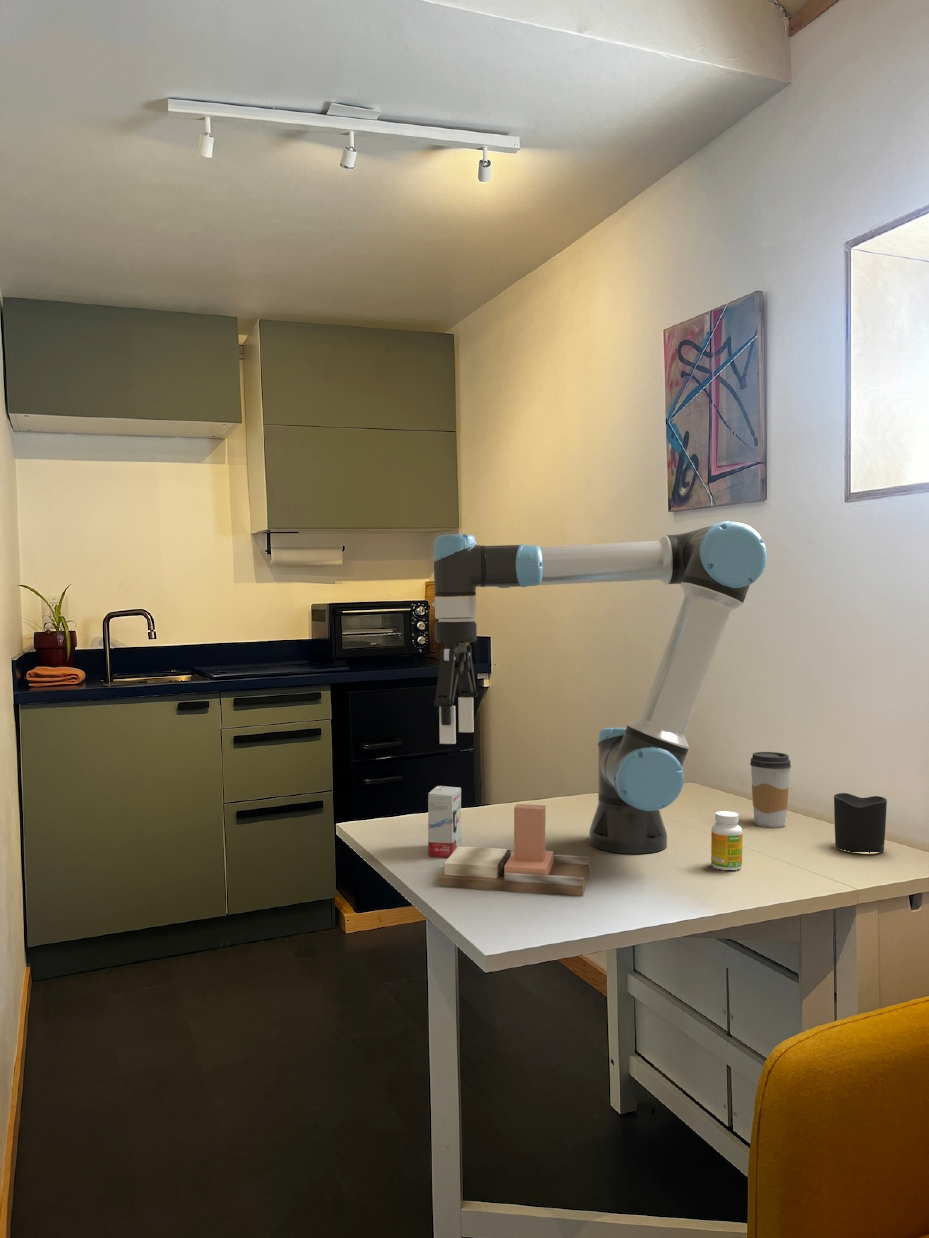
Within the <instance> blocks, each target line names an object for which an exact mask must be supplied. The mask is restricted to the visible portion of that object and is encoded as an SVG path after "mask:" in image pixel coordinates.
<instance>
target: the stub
mask: <svg viewBox="0 0 929 1238" xmlns="http://www.w3.org/2000/svg"><path fill="white" fill-rule="evenodd" d="M513 808H514V809H513V810H514V811H513V825H514V826H513V851H511V856H510V858H509V859H508V861H507V863H506V864H505V866H504V874H505V872H508V873H523V874H538V875H549V872H550V870H551V868H552V865H553V863H554V855H555V851H553V850H546V805H543V804H523V803H517V804H516V805H514V807H513Z"/></svg>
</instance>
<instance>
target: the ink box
mask: <svg viewBox="0 0 929 1238" xmlns="http://www.w3.org/2000/svg"><path fill="white" fill-rule="evenodd" d="M427 797H428V798H427V803H428V804H427V807H428V809H427V810H428V813H427V814H428V815H427V816H428V817H427V819H428V821H427V828H428V830H427V831H428V833H427V834H428V835H427V837H428V838H427V840H428V843H427V844H428V845H427V849H428V852H427V854H428V855H427V856H428V857H434V858H435V857H436V858H437V857H438V858H439V857H440V858H449V857H450V856H451V854H452V853H453V852H454V851H455V850H456V848H457V847H458V846H462V809H461V808H462V788H461V787H460V786H459V787H455V786H445V785H437V786H435V787H434V788H433V789H431V790H430V792H428V795H427Z"/></svg>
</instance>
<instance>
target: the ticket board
mask: <svg viewBox="0 0 929 1238" xmlns="http://www.w3.org/2000/svg"><path fill="white" fill-rule="evenodd" d="M511 854H512V850H511V849H508V848H499V847H498V848H496V847H479V846H463V845H461V846H458V847H457V848H456V850H455V851H454V852H453V853H452V854H451V856H450V857H447V859H446V860H445V862H444V864H443V865H444V866H443V867H444V868H443V869H444V871H443V872H442V873H441V875H440V876H439V880H438V881H439V884H438V885H439V887H446V888H448V887H450V888H460V889H461V888H463V889H475V890H476V889H477V890H490V891H492V890H493V891H502V892H503V891H505V892H520V893H533V894H534V893H535V894H548V895H560V896H562V895H563V896H575V897H576V896H578V897H583V896H584V892H585V888H586V886H587V881H588V877H589V874H590V856H584V855H583V856H582V855H566V854H554V863H553V865H552V868H551V870H550V872H549V875H538V874H523V873H508V872H505V874H504V866H505V864H506V863H507V861H508V859H509V858H510V856H511Z"/></svg>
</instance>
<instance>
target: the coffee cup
mask: <svg viewBox="0 0 929 1238" xmlns="http://www.w3.org/2000/svg"><path fill="white" fill-rule="evenodd" d="M791 762H792V761H791V760H790V757H789V755H788V754H787V753H783V752H778V751H777V752H776V751H757V752H753V753H752V757H750V763H749V764H750V769H751V792H752V793H751V794H752V807H753V821H754V822H755V825H757V826H759V827H763V828H772V829H774V828H777V829H778V828H783V827H784V826H785V824H786V823H787V812H788V809H787V808H788V802H789V801H788V800H789V788H790V787H789V785H790V784H789V783H790V782H789V781H790V773H791V771H790V770H791V767H792V765H791Z"/></svg>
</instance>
